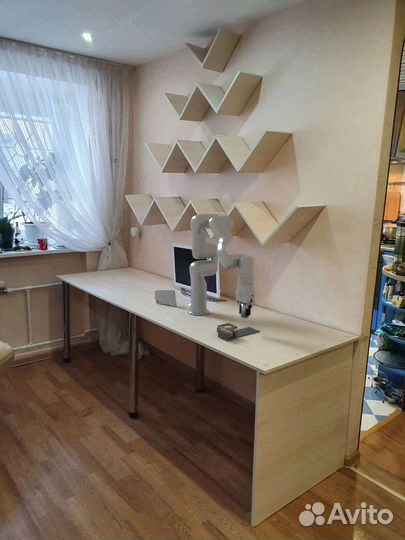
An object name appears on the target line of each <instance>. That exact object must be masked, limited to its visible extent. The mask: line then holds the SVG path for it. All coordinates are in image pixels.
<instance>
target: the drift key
mask: <svg viewBox="0 0 405 540" xmlns="http://www.w3.org/2000/svg"><path fill="white" fill-rule="evenodd" d="M223 327H224V326H223ZM223 327H221V326H220V327H218V326H217V327H216V332H217V333H218V330H219V329H222V330H224V331H227V332H229V333H230V337H233V332H232V331H230V330H227V329H225V328H226V327H225V328H223Z"/></svg>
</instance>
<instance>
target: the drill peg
mask: <svg viewBox="0 0 405 540" xmlns="http://www.w3.org/2000/svg"><path fill="white" fill-rule="evenodd" d="M248 305H249V304H248ZM246 309H247V308H246V303H243V302H242V303H241V314H240V318H241V319H248V318H249V317H250V316H245V310H246Z"/></svg>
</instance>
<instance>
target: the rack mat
mask: <svg viewBox="0 0 405 540" xmlns="http://www.w3.org/2000/svg"><path fill="white" fill-rule="evenodd" d="M235 330H236V331H238V335H237V338H241V337H245V336H249V335H254V334H256V333H259V332H260V330H259V329H256V328H254V327H251V326H246V327H243V328H239V329H238V328H237V329H235Z"/></svg>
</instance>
